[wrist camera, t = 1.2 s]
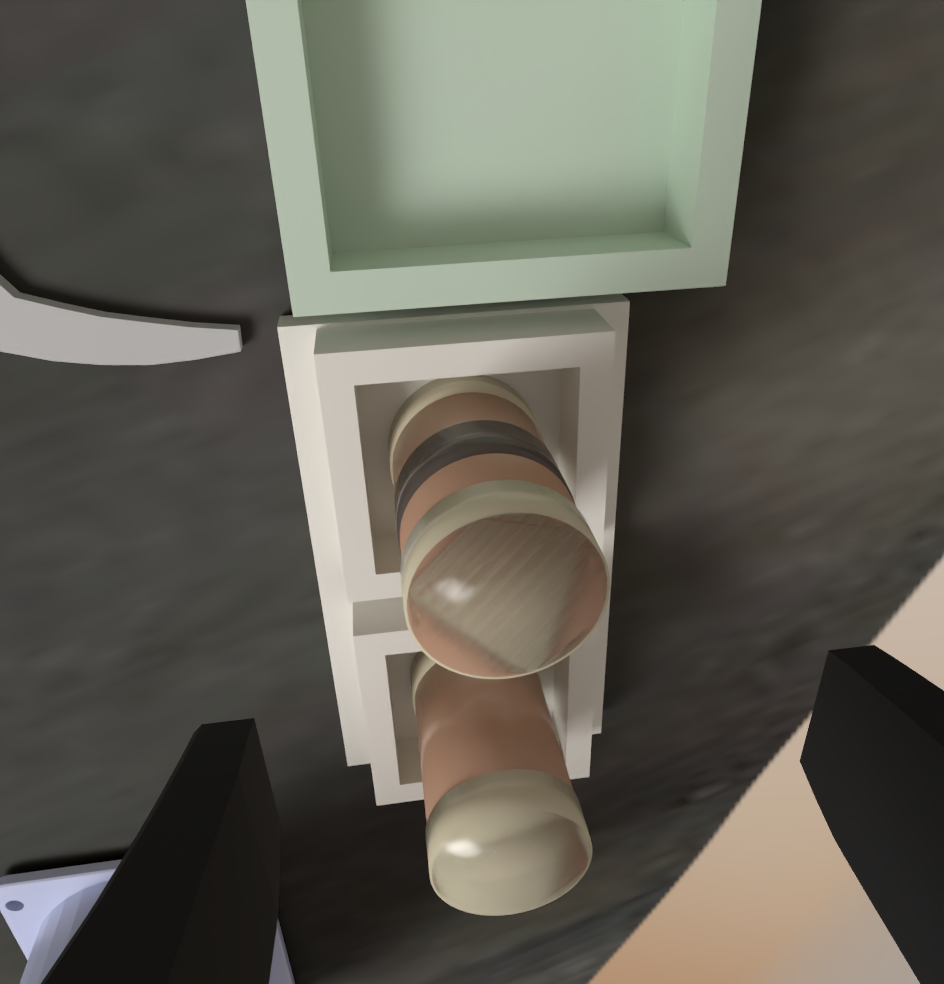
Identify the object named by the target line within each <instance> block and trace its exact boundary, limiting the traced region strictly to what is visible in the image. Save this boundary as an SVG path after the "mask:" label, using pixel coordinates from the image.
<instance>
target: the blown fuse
mask: <svg viewBox="0 0 944 984" xmlns="http://www.w3.org/2000/svg"><path fill="white" fill-rule="evenodd" d="M388 454H389V464H390V473H391V479H392V482H393V485H394V491H395V494H394V504H395V515H396V525H397V535H398V544H399V550H400V554H401V565H400V574H401V586H402V596H403V607H404V614H405V620H406V624H407V627H408V630H409V632H410V634H411V636H412V638H413V640H414V641H415V643H416V644H417V645H418V647H419V648H420V649H421V651H423V652H424V653H425V654H426V655H427V656H428V657H429V658H430V659H431V660H433V661H434V662H436V663H437V664H439V665H440V666H442V667H444V668H446V669H448V670H450V671H453V672H455V673H458V674H461V675H465V676H469V677H474V678H481V679H508V678H514V677H520V676H525V675H528V674H532V673H535V672H538V671H540V670H543V669H546V668H548V667H550V666H552V665H554V664H556V663H558V662H559V661H561V660H563V659H564V658H566V657H567V656H569V655H570V654H571V653H573V652H574V651H575V650H576V649H578V648H579V647H580V646H581V645H582V644H583V643H584V642H585V641H586V640H587V639H588V638H589V636H590V635H591V634H592V633H593V631H594V630H595V629H596V627H597V625H598V624H599V622H600V621H601V618H602V616H603V614H604V612H605V609H606V606H607V603H608V599H609V592H610V576H609V570H608V566H607V563H606V560H605V557H604V555H603V553H602V551H601V549H600V547H599V545H598V543H597V541H596V539H595V537H594V535H593V533H592V531H591V529H590V527H589V525H588V523H587V522H586V520H585V518H584V516H583V515H582V514H581V512H580V511H579V510H578V508H577V507H576V505H575V502H574V499H573V496H572V494H571V492H570V490H569V488H568V486H567V484H566V482H565V480H564V478H563V476H562V474H561V472H560V470H559V468H558V466H557V464H556V462H555V460H554V458H553V456H552V455H551V453H550V451H549V450H548V449H547V447H546V445H545V442H544V438H543V435H542V433H541V430H540V428H539V426H538V424H537V422H536V420H535V418H534V416H533V414H532V412H531V410H530V408H529V407H528V405H527V403H526V402H525V401H524V399H523V398H522V397H521V396H520V395H519V394H518V393H517V392H516V391H515V390H514V389H513V388H511V387H510V386H509V385H507V384H505V383H503V382H502V381H500V380H497V379H495V378H492V377H489V376H485V375H477V376H465V377H452V378H440V379H436V380H433V381H431V382H429V383H427V384H425V385H424V386H422V387H420V388H419V389H418V390H416V391H415V392H414V393H413V394H412V395H411V396H410V397H408V398H407V399H406V401H405V402H404V403H403V404H402V406H401V407H400V408H399V410H398V412H397V413H396V415H395V417H394V420H393V422H392V424H391V428H390V432H389V438H388Z"/></svg>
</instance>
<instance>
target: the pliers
mask: <svg viewBox="0 0 944 984" xmlns="http://www.w3.org/2000/svg"><path fill="white" fill-rule="evenodd" d="M242 346H243V345H242V337H241V329H240V325H232V324H216V323H200V322H188V321H179V320H170V319H161V318H152V317H143V316H135V315H127V314H119V313H111V312H104V311H100V310H95V309H90V308H85V307H81V306H76V305H71V304H66V303H62V302H58V301H54V300H50V299H45V298H41V297H37V296H33V295H29V294H25V293H20V292H19V291H18V290H17V289H16V288H15V287H14V286H13V285H11V284H10V283H9V282H8V281H7V280H6V279H5V278H4V277H3V276H1V275H0V351H1V352H6V353H12V354H17V355H23V356H28V357H34V358H39V359H45V360H50V361H60V362H72V363H84V364H96V365H154V364H162V363H171V362H179V361H188V360H196V359H202V358H207V357H213V356H218V355H224V354H229V353H235V352H240V351H241V349H242Z"/></svg>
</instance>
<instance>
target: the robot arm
mask: <svg viewBox="0 0 944 984" xmlns="http://www.w3.org/2000/svg"><path fill="white" fill-rule="evenodd" d="M800 763H801V765H802V767H803V770H804V772H805V774H806V777H807V779H808V781H809V784H810V786H811V788H812V791H813V793H814V795H815V798H816V800H817V802H818V805H819V807H820V809H821V811H822V813H823V815H824V818H825V820H826V822H827V824H828V826H829V828H830V830H831V832H832V835H833V837H834V839H835V841H836V842H837V844H838V846H839V848H840V849H841V851H842V853H843V855H844V856H845V858H846V860H847V861H848V863H849V865H850V866H851V868H852V870H853V872H854V873H855V875H856V877H857V878H858V880H859V882H860V883H861V885H862V887H863V889H864V890H865V892H866V894H867V895H868V897H869V899H870V900H871V902H872V904H873V906H874V907H875V909H876V910H877V912H878V914H879V915H880V917H881V919H882V921H883V922H884V924H885V925H886V927H887V929H888V931H889V932H890V934H891V936H892V937H893V939H894V940H895V942H896V944H897V946H898V947H899V949H900V951H901V952H902V954H903V955H904V957H905V959H906V961H907V962H908V964H909V965H910V967H911V969H912V970H913V972H914V974H915V976H916V977H917V979H918V980H919V982H920V984H944V691H943V690H942V689H940V688H938V687H937V686H936V685H934V684H933V683H931V682H930V681H928V680H927V679H925V678H924V677H922V676H921V675H919V674H918V673H916V672H915V671H913V670H912V669H910V668H909V667H907V666H906V665H904V664H903V663H901V662H900V661H898V660H897V659H895V658H894V657H892V656H891V655H889V654H887V653H886V652H884V651H883V650H881V649H879V648H878V647H876V646H875V645H871V646H863V647H854V648H846V649H837V650H829V651H828V655H827V659H826V663H825V667H824V671H823V674H822V678H821V682H820V686H819V690H818V694H817V697H816V701H815V705H814V709H813V713H812V717H811V720H810V724H809V728H808V732H807V736H806V739H805V744H804V747H803V751H802V755H801V759H800ZM280 857H281V825H280V821H279V817H278V813H277V809H276V805H275V801H274V797H273V793H272V789H271V785H270V781H269V777H268V773H267V769H266V765H265V761H264V757H263V753H262V749H261V744H260V740H259V736H258V732H257V728H256V724H255V720H254V718H252V719H244V720H235V721H227V722H218V723H210V724H202V725H201V726H200V727H199V728H198V729H197V730H196V731H195V732H194V734H193V736H192V738H191V740H190V741H189V743H188V745H187V747H186V749H185V751H184V753H183V755H182V757H181V758H180V760H179V762H178V764H177V766H176V768H175V769H174V771H173V773H172V775H171V777H170V779H169V780H168V782H167V784H166V786H165V788H164V789H163V791H162V793H161V795H160V796H159V798H158V800H157V802H156V803H155V805H154V807H153V809H152V810H151V812H150V814H149V815H148V817H147V819H146V821H145V822H144V824H143V826H142V827H141V829H140V831H139V833H138V834H137V836H136V838H135V839H134V841H133V843H132V844H131V846H130V847H129V849H128V851H127V852H126V854H125V855H124V857H123V859H120V860H113V861H105V862H98V863H91V864H84V865H77V866H69V867H62V868H55V869H48V870H41V871H33V872H26V873H19V874H12V875H7V876H3V877H1V878H0V911H1V913H2V915H3V916H4V918H5V920H6V922H7V924H8V926H9V927H10V929H11V931H12V933H13V935H14V936H15V938H16V940H17V942H18V944H19V946H20V947H21V949H22V951H23V953H24V955H25V957H26V958H27V960H28V962H27V965H26V967H25V970H24V973H23V976H22V979H21V982H20V984H295V982H294V978H293V974H292V970H291V966H290V962H289V958H288V955H287V951H286V947H285V943H284V939H283V935H282V932H281V928H280V924H279V920H278V908H279V885H280Z"/></svg>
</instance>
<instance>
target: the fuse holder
mask: <svg viewBox="0 0 944 984" xmlns="http://www.w3.org/2000/svg"><path fill="white" fill-rule="evenodd" d="M629 309H630V301H629V300H628V299H627V298H626V297H625V296H624V295H622V294H621V293H620V294H607V295H593V296H579V297H565V298H551V299H538V300H524V301H510V302H496V303H482V304H469V305H455V306H441V307H427V308H413V309H400V310H386V311H372V312H358V313H344V314H331V315H317V316H303V317H293V315H287V316H280V318H279V322H278V326H277V329H278V336H279V342H280V348H281V354H282V360H283V367H284V373H285V379H286V385H287V392H288V398H289V404H290V410H291V416H292V423H293V429H294V435H295V441H296V447H297V454H298V460H299V466H300V472H301V479H302V485H303V491H304V497H305V503H306V510H307V516H308V522H309V528H310V534H311V541H312V547H313V553H314V559H315V566H316V572H317V578H318V584H319V590H320V597H321V603H322V609H323V615H324V621H325V628H326V634H327V640H328V646H329V653H330V659H331V665H332V671H333V677H334V684H335V690H336V696H337V702H338V708H339V715H340V721H341V727H342V733H343V740H344V746H345V752H346V758H347V764H348V766H354V765H361V764H369V763H371V769H372V776H373V784H374V791H375V798H376V805H377V806H379V805H386V804H394V803H401V802H408V801H416V800H423V799H424V792H423V782H422V772H421V763H420V753H419V743H418V733H417V723H416V715H415V712H414V709H413V702H412V692H411V682H410V669H411V664H412V661H413V659H414V657H415V655H416V653H417V652H419V651H421V649H420V648H419V647H418V645H417V644H416V643H415V641H414V640H413V638H412V636H411V634H410V632H409V630H408V627H407V624H406V620H405V614H404V607H403V596H402V586H401V574H400V565H401V554H400V550H399V544H398V535H397V525H396V515H395V504H394V494H395V491H394V485H393V482H392V479H391V473H390V464H389V454H388V438H389V432H390V428H391V424H392V422H393V420H394V417H395V415H396V413H397V412H398V410H399V408H400V407H401V406H402V404H403V403H404V402H405V401H406V399H407V398H408V397H410V396H411V395H412V394H413V393H414V392H415V391H416V390H418V389H419V388H420V387H422V386H424V385H425V384H427V383H429V382H431V381H433V380H436V379H440V378H452V377H465V376H477V375H485V376H489V377H492V378H495V379H497V380H500V381H502V382H503V383H505V384H507V385H509V386H510V387H511V388H513V389H514V390H515V391H516V392H517V393H518V394H519V395H520V396H521V397H522V398H523V399H524V401H525V402H526V403H527V405H528V407H529V408H530V410H531V412H532V414H533V416H534V418H535V420H536V422H537V424H538V426H539V428H540V430H541V433H542V435H543V438H544V442H545V445H546V447H547V449H548V450H549V451H550V453H551V455H552V456H553V458H554V460H555V462H556V464H557V466H558V468H559V470H560V472H561V474H562V476H563V478H564V480H565V482H566V484H567V486H568V488H569V490H570V492H571V494H572V496H573V499H574V502H575V505H576V507H577V508H578V510H579V511H580V512H581V514H582V515H583V516H584V518H585V520H586V522H587V523H588V525H589V527H590V529H591V531H592V533H593V535H594V537H595V539H596V541H597V543H598V545H599V547H600V549H601V551H602V553H603V555H604V557H605V560H606V563H607V566H608V570H609V576H610V592H611V577H612V562H613V547H614V532H615V517H616V503H617V488H618V473H619V458H620V443H621V428H622V413H623V398H624V383H625V369H626V354H627V339H628V324H629ZM610 592H609V599H608V603H607V606H606V609H605V612H604V614H603V616H602V618H601V621H600V622H599V624H598V625H597V627H596V629H595V630H594V631H593V633H592V634H591V635H590V636H589V638H588V639H587V640H586V641H585V642H584V643H583V644H582V645H581V646H580V647H579V648H578V649H576V650H575V651H574V652H573V653H571V654H570V655H569V656H567V657H566V658H564V659H563V660H561V661H559V662H558V663H556V664H554V665H552V666H550V667H548V668H546V669H543V670H540V671H539V672H540V676H541V679H542V687H543V692H544V695H545V699H546V702H547V705H548V708H549V712H550V715H551V718H552V722H553V725H554V728H555V732H556V735H557V738H558V741H559V745H560V748H561V751H562V755H563V758H564V761H565V764H566V768H567V771H568V774H569V778H570V779H577V778H585V777H589V774H590V757H591V740H592V734H599V733H601V726H602V711H603V696H604V681H605V666H606V651H607V637H608V622H609V607H610Z"/></svg>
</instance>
